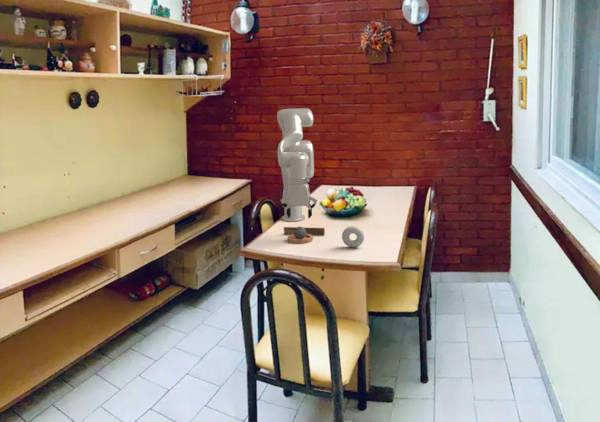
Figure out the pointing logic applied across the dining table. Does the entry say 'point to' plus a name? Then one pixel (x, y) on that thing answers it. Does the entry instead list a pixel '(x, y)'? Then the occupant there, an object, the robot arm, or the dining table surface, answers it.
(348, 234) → the donut
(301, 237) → the ball
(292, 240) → the bowl
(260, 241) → the dining table surface
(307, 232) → the wall
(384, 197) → the dining table surface
